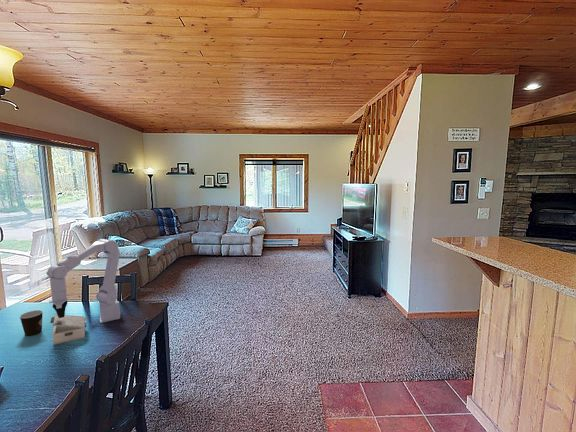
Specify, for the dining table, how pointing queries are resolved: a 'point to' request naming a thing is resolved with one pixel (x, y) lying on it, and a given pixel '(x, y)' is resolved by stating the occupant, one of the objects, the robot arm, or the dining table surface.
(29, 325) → the coffee mug
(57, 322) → the lid
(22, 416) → the dining table surface
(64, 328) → the white box
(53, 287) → the robot arm
